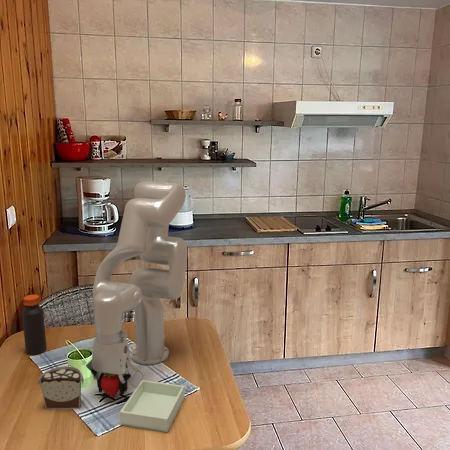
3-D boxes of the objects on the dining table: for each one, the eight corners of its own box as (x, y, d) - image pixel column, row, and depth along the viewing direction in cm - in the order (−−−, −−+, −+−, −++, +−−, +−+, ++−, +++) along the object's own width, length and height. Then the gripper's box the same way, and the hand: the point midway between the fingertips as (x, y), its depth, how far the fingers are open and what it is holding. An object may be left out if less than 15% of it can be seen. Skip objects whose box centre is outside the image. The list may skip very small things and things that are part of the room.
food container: (90, 395, 132) (88, 365, 130) (84, 408, 126) (82, 377, 124) (48, 396, 131) (45, 365, 129) (40, 409, 125) (37, 377, 123)
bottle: (27, 357, 152) (21, 302, 148) (24, 348, 158) (19, 295, 153) (48, 352, 156) (43, 298, 151) (44, 344, 161) (40, 292, 157)
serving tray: (142, 391, 134) (141, 380, 133) (184, 398, 131) (184, 385, 130) (120, 425, 119) (119, 411, 118) (167, 432, 117) (167, 419, 116)
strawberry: (96, 402, 129) (94, 371, 126) (111, 387, 136) (110, 357, 133) (114, 406, 127) (112, 375, 124) (128, 391, 134) (127, 361, 131)
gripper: (143, 332, 128) (145, 387, 133) (88, 325, 132) (92, 380, 136) (132, 345, 121) (135, 403, 125) (74, 337, 125) (79, 394, 129)
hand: (112, 390), depth 131 cm, fingers closed on strawberry, 6 cm apart
